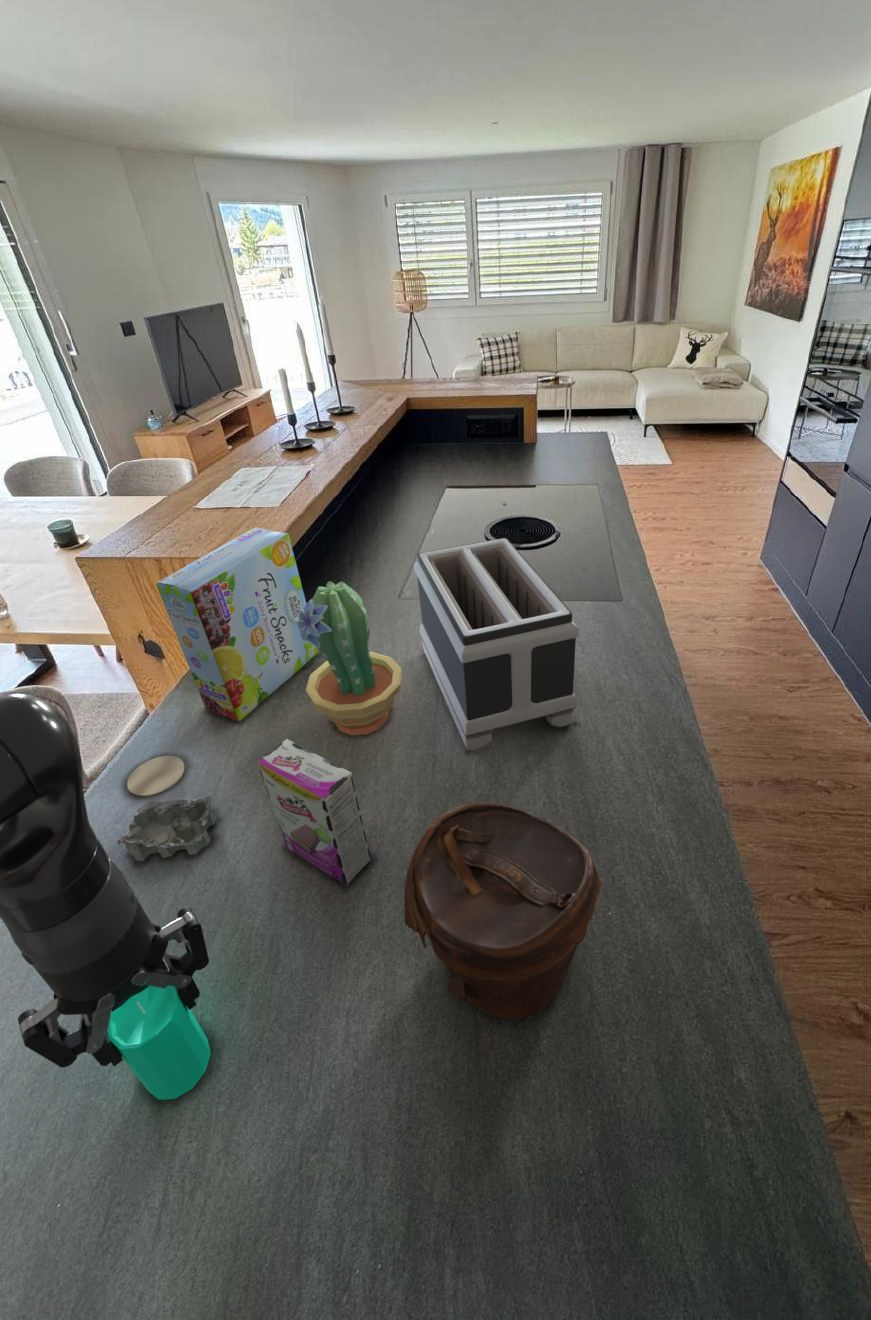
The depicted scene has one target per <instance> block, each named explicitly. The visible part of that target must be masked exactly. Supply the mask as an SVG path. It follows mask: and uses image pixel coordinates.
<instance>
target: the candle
mask: <svg viewBox="0 0 871 1320" xmlns="http://www.w3.org/2000/svg"><path fill="white" fill-rule="evenodd" d="M107 1031H108V1038H109V1040H110V1041H111V1043H112V1044H113V1045H114V1047H115V1048H116V1049H117V1051H118V1052H119V1053H120V1054H121V1056H122V1059H123V1061H124V1062H125V1063H126V1065H127V1066H128V1067H129V1068H130V1069H131V1070H132V1072H133V1073H134V1075H135V1077H136V1078H138V1080H139V1081H140V1082H141V1084H142V1085H143V1086H144V1088H145V1089H146V1091H148V1092H149V1094H151V1095H152V1096H154V1097H155V1098H156V1099H157V1100H158V1101H161V1100H162V1101H163V1100H176V1099H178V1098H179V1097H181V1096H182V1095H184V1094H186V1093H187V1092H189V1091H191V1090H192V1089H194V1087H195V1086H196V1084H198V1082H199V1081H200V1079H202V1077H203V1076H204V1075H205V1074H206V1071H207V1068H208V1064H209V1061H210V1058H211V1055H212V1052H211V1049H210V1043H209V1039H208V1037H207V1036H206V1034H205V1032H204V1031H203V1029H202V1026H201V1025H200V1023H199V1022H198V1020H197V1018H196V1017H195V1015H194V1013H193V1011H192V1009H190V1010H189V1009H188V1007H187V1005H186V1004H185V1002H184V1000H183V999H182V997H181V995H180V994H179V992H178V990H177V988H176V987H172V986H167V987H166V988H165V989H163V988H158V987H154V986H149V987H147V988H146V989H145V990H143V991H142V992H140V993H138V994H136V995H134V996H132V997H131V998H129V999H128V1000H127V1001H126V1002H125V1003H124V1004H123V1005H122V1006H120V1007H119V1008H117V1009H116V1010H115V1011H113V1012H112V1011H111V1016H110V1022H109V1027H108V1030H107Z"/></svg>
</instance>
